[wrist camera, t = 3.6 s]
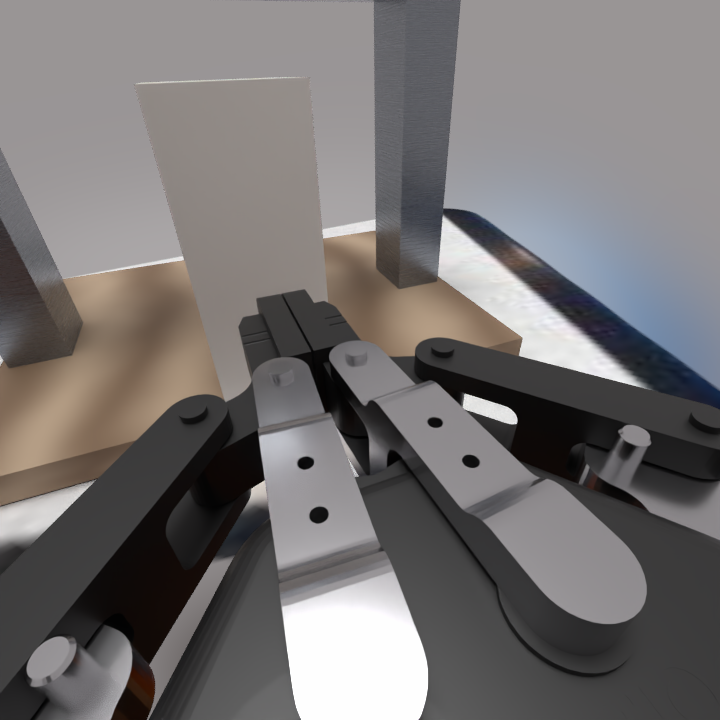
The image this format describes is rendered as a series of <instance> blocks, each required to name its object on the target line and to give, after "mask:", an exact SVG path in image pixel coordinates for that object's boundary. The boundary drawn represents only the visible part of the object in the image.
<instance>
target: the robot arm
mask: <svg viewBox="0 0 720 720" xmlns="http://www.w3.org/2000/svg"><path fill="white" fill-rule="evenodd" d="M256 302H257V308H258V313H259V314H256V315H251V316H246V317H243V318H242V320H241V322H240V324H239V326H238V328H239V332H240V336H241V341H242V345H243V349H244V354H245V358H246V362H247V367H248V370H249V374H250V377H251V383H250V385H249V386H248V388H247V389H246V390H245V391H244V392H242V393H241V394H240V395H238V396H236V397H235V398H233V399H231V400H229V401H227V402H225V401H224V400H223V399H222V398H220V397H218V396H215V395H210V394H201V395H194V396H190V397H187V398H185V399H182V400H180V401H178V402H176V403H175V404H173V405H172V406H171V407H170V408H168V409H167V410H166V411H165V412H164V413H163V414H162V415H161V416H160V417H159V418H158V419H157V420H156V421H155V422H154V423H153V424H152V425H151V426H150V427H149V428H148V429H147V430H146V431H145V432H144V433H143V434H142V435H141V436H140V437H139V438H138V439H137V440H136V441H135V442H134V443H133V444H132V445H131V446H130V447H129V448H128V449H127V450H126V451H125V452H124V453H123V454H122V455H121V456H120V457H119V458H118V459H117V460H116V461H115V462H114V463H113V464H112V465H111V466H110V467H109V468H108V469H107V470H106V471H105V472H104V473H103V474H102V475H101V476H100V477H99V478H98V479H97V480H96V481H95V482H94V483H93V484H92V485H91V486H90V487H89V488H88V489H87V490H86V491H85V492H84V493H83V494H82V495H81V496H80V497H79V498H78V499H77V500H76V501H75V502H74V503H73V504H72V505H71V506H70V507H69V508H68V509H67V510H66V511H65V512H64V513H63V514H62V515H61V516H60V517H59V518H58V519H57V520H56V521H55V522H54V523H53V524H52V525H51V526H50V527H49V528H48V529H47V530H46V531H45V532H44V533H43V534H42V535H41V536H40V537H39V538H38V539H37V540H36V541H35V542H34V543H33V544H32V545H31V546H30V547H29V548H28V549H27V550H26V551H25V552H24V553H23V554H22V555H21V556H20V557H19V558H18V559H17V560H16V561H15V562H14V563H13V564H12V565H11V566H10V567H9V568H8V569H7V570H6V571H5V572H4V573H3V574H2V575H1V576H0V720H147V718H148V715H149V713H150V711H151V708H152V704H153V701H154V695H155V678H154V674H153V671H152V669H151V667H150V666H149V664H150V663H151V661H152V659H153V658H154V656H155V654H156V653H157V651H158V650H159V648H160V646H161V645H162V643H163V641H164V640H165V638H166V636H167V635H168V633H169V631H170V629H171V628H172V626H173V625H174V623H175V621H176V620H177V618H178V616H179V615H180V613H181V612H182V610H183V608H184V607H185V605H186V603H187V602H188V600H189V598H190V597H191V595H192V593H193V592H194V590H195V588H196V587H197V585H198V583H199V582H200V580H201V579H202V577H203V575H204V573H205V572H206V570H207V569H208V567H209V565H210V564H211V562H212V560H213V559H214V557H215V555H216V554H217V552H218V550H219V549H220V547H221V546H222V544H223V542H224V541H225V539H226V537H227V536H228V534H229V532H230V531H231V529H232V527H233V526H234V524H235V522H236V521H237V519H238V517H239V516H240V514H241V512H242V511H243V509H244V508H245V506H246V504H247V503H248V501H249V499H250V495H251V488H253V487H254V486H256V485H257V484H259V483H261V482H262V481H264V480H265V484H266V491H267V498H268V505H269V512H270V518H269V519H268V520H267V521H266V522H264V523H263V524H262V525H261V526H260V527H259V528H257V529H256V530H255V531H254V532H253V533H252V534H251V536H250V537H249V538H248V539H247V540H246V541H245V543H244V544H243V545H242V546H241V548H240V549H239V551H238V552H237V554H236V555H235V557H234V558H233V560H232V562H231V564H230V566H229V567H228V569H227V571H226V573H225V575H224V577H223V579H222V581H221V583H220V585H219V587H218V588H217V590H216V592H215V594H214V596H213V598H212V600H211V602H210V604H209V606H208V608H207V609H206V611H205V613H204V615H203V617H202V619H201V621H200V623H199V625H198V627H197V629H196V630H195V632H194V634H193V636H192V638H191V640H190V642H189V644H188V646H187V648H186V650H185V652H184V653H183V655H182V657H181V659H180V661H179V663H178V665H177V667H176V669H175V671H174V672H173V674H172V676H171V678H170V680H169V682H168V684H167V686H166V688H165V690H164V692H163V694H162V695H161V697H160V699H159V701H158V703H157V705H156V707H155V709H154V711H153V713H152V715H151V716H150V718H149V720H720V410H719V409H717V408H714V407H712V406H709V405H706V404H702V403H698V402H694V401H690V400H687V399H683V398H679V397H675V396H671V395H667V394H663V393H660V392H656V391H652V390H648V389H644V388H640V387H636V386H632V385H629V384H625V383H621V382H617V381H613V380H609V379H605V378H601V377H598V376H594V375H590V374H586V373H582V372H578V371H574V370H571V369H567V368H563V367H559V366H555V365H551V364H547V363H543V362H540V361H536V360H532V359H528V358H524V357H520V356H516V355H512V354H509V353H505V352H501V351H497V350H493V349H489V348H485V347H481V346H478V345H474V344H470V343H466V342H462V341H458V340H454V339H450V338H444V337H435V338H429V339H426V340H423V341H421V342H420V343H419V344H418V345H417V346H416V348H415V356H399V357H392V356H388V355H387V354H386V353H385V352H384V351H383V350H382V349H381V348H380V347H379V346H377V345H375V344H373V343H371V342H367V341H361V339H360V338H359V337H358V335H357V334H356V333H355V331H354V330H353V329H352V328H351V326H350V325H349V324H348V323H347V321H346V320H345V318H344V317H343V316H342V314H341V313H340V312H339V310H338V309H337V308H336V306H334V305H332V304H330V303H328V302H326V301H321V302H316V303H314V302H313V300H312V299H311V297H310V296H309V294H308V293H307V291H306V290H305V289H302V290H297V291H292V292H286V293H282V294H276V295H271V296H266V297H260V298H256ZM465 393H466V394H469V395H472V396H475V397H478V398H482V399H485V400H488V401H491V402H494V403H498V404H501V405H504V406H507V407H509V408H510V409H512V410H513V411H514V412H515V414H516V416H517V418H518V422H517V424H514V425H511V424H507V423H504V422H501V421H498V420H495V419H491V418H488V417H485V416H482V415H479V414H476V413H473V412H470V411H467V410H465V409H464V408H462V407H463V400H464V394H465ZM334 422H335V423H334ZM347 457H348V458H347ZM348 459H349V460H350V462H351V464H352V465H353V467H354V469H355V470H356V472H357V473H358V475H359V477H354V474H353V472H352V469H351V466H350V463H349V461H348Z"/></svg>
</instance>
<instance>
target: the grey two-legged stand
mask: <svg viewBox="0 0 720 720" xmlns="http://www.w3.org/2000/svg"><path fill="white" fill-rule="evenodd" d="M265 1H268V0H265ZM269 1H333V2H374V50H375V51H374V57H375V58H374V62H375V63H374V66H375V184H376V186H375V187H376V190H375V193H376V269H377V270H378V271H379V272H380V273H381V274H382V275H384V276H385V277H386V278H387V279H388V280H389V281H390V282H391V283H392V284H394V285H395V286H396V287H397V288H398V289H403V288H408V287H413V286H418V285H423V284H428V283H433V282H437V276H438V264H439V252H440V240H441V228H442V216H443V204H444V192H445V180H446V167H447V156H448V143H449V132H450V120H451V108H452V96H453V84H454V72H455V61H456V48H457V37H458V36H457V35H458V25H459V13H460V1H461V0H269ZM82 325H83V321H82V319H81V317H80V315H79V313H78V310H77V308H76V306H75V304H74V302H73V300H72V298H71V296H70V294H69V292H68V289H67V287H66V285H65V283H64V281H63V279H62V277H61V275H60V273H59V271H58V269H57V266H56V264H55V262H54V260H53V258H52V256H51V254H50V252H49V250H48V248H47V246H46V243H45V241H44V239H43V237H42V235H41V233H40V231H39V229H38V227H37V224H36V222H35V220H34V218H33V216H32V214H31V212H30V210H29V208H28V206H27V204H26V201H25V199H24V197H23V195H22V193H21V191H20V189H19V187H18V185H17V183H16V180H15V179H14V176H13V174H12V172H11V170H10V168H9V166H8V164H7V162H6V160H5V158H4V155H3V153H2V151H1V149H0V356H1V357H2V359H3V360H4V362H5V363H6V365H7V366H8V368H14V367H19V366H24V365H28V364H33V363H38V362H43V361H48V360H53V359H58V358H63V357H68V356H72V355H73V352H74V349H75V346H76V343H77V340H78V337H79V334H80V331H81V328H82Z"/></svg>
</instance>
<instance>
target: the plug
mask: <svg viewBox="0 0 720 720" xmlns="http://www.w3.org/2000/svg"><path fill="white" fill-rule="evenodd" d="M134 86H135V90H136V93H137V97H138V100H139V103H140V107H141V110H142V113H143V118H144V120H145V124H146V128H147V131H148V134H149V138H150V142H151V145H152V149H153V152H154V156H155V159H156V162H157V166H158V170H159V173H160V177H161V180H162V184H163V187H164V191H165V194H166V198H167V201H168V205H169V208H170V212H171V215H172V219H173V222H174V226H175V229H176V233H177V236H178V240H179V243H180V246H181V249H182V254H183V257H184V261H185V264H186V268H187V271H188V275H189V278H190V281H191V285H192V288H193V292H194V295H195V299H196V302H197V306H198V309H199V313H200V316H201V320H202V323H203V327H204V330H205V334H206V337H207V341H208V344H209V348H210V351H211V355H212V358H213V362H214V365H215V369H216V372H217V376H218V379H219V383H220V386H221V390H222V393H223V397H224V400H225V402H227V401H229V400H231V399H233V398H235V397H236V396H238V395H240V394H241V393H242V392H244V391H245V390H246V389H247V388H248V386H249V385H250V383H251V377H250V374H249V370H248V367H247V362H246V358H245V354H244V349H243V345H242V341H241V336H240V332H239V328H238V326H239V324H240V322H241V320H242V318H243V317H246V316H251V315H256V314H259V313H258V308H257V302H256V298H260V297H266V296H271V295H276V294H282V293H286V292H292V291H297V290H302V289H305V290H306V291H307V293H308V294H309V296H310V297H311V299H312V300H313V302H314V303H316V302H321V301H326V302H328V295H327V283H326V271H325V259H324V247H323V235H322V223H321V211H320V199H319V186H318V174H317V162H316V150H315V139H314V126H313V114H312V101H311V90H310V78H309V77H286V78H254V79H227V80H202V81H201V80H200V81H174V82H150V83H137V84H134Z"/></svg>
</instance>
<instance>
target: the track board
mask: <svg viewBox="0 0 720 720" xmlns="http://www.w3.org/2000/svg"><path fill="white" fill-rule="evenodd" d="M323 247H324V259H325V271H326V283H327V295H328V303H330V304H332V305H334V306H336V308H337V309H338V310H339V312H340V313H341V314H342V316H343V317H344V318H345V320H346V321H347V323H348V324H349V325H350V326H351V328H352V329H353V330H354V331H355V333H356V334H357V335H358V337H359V338H360V339H361V341H367V342H371V343H373V344H375V345H377V346H379V347H380V348H381V349H382V350H383V351H384V352H385V353H386V354H387V355H388V356H392V357H399V356H415V348H416V346H417V345H418V344H419V343H420V342H421V341H423V340H426V339H429V338H435V337H444V338H450V339H454V340H458V341H462V342H466V343H470V344H474V345H478V346H481V347H485V348H489V349H493V350H497V351H501V352H505V353H509V354H512V355H516V356H519V351H520V347H521V343H522V337H521V336H519V335H518V334H516V333H515V332H514V331H512V330H511V329H510V328H508V327H507V326H505V325H504V324H503V323H501V322H500V321H499V320H497V319H496V318H494V317H493V316H492V315H490V314H489V313H488V312H486V311H485V310H483V309H482V308H481V307H479V306H478V305H476V304H475V303H474V302H472V301H471V300H470V299H468V298H467V297H465V296H464V295H463V294H461V293H460V292H459V291H457V290H456V289H454V288H453V287H452V286H450V285H449V284H447V283H446V282H445V281H443V280H442V279H441V278H439V277H438V276H437V282H433V283H428V284H423V285H418V286H413V287H408V288H403V289H398V288H397V287H396V286H395V285H394V284H392V283H391V282H390V281H389V280H388V279H387V278H386V277H385V276H384V275H382V274H381V273H380V272H379V271H378V270H377V269H376V231H370V232H363V233H357V234H351V235H344V236H338V237H331V238H325V239H323ZM63 281H64V283H65V285H66V287H67V289H68V292H69V294H70V296H71V298H72V300H73V302H74V304H75V306H76V308H77V310H78V313H79V315H80V317H81V319H82V321H83V325H82V328H81V331H80V334H79V337H78V340H77V343H76V346H75V349H74V352H73V355H72V356H68V357H63V358H58V359H53V360H48V361H43V362H38V363H33V364H28V365H24V366H19V367H14V368H8V366H7V365H6V363H5V362H4V361H3V362H2V364H1V366H0V506H1V505H5V504H8V503H12V502H16V501H19V500H23V499H26V498H30V497H33V496H37V495H40V494H44V493H47V492H51V491H55V490H58V489H62V488H65V487H69V486H72V485H76V484H79V483H83V482H86V481H90V480H94V479H97V478H99V477H100V476H101V475H102V474H103V473H104V472H105V471H106V470H107V469H108V468H109V467H110V466H111V465H112V464H113V463H114V462H115V461H116V460H117V459H118V458H119V457H120V456H121V455H122V454H123V453H124V452H125V451H126V450H127V449H128V448H129V447H130V446H131V445H132V444H133V443H134V442H135V441H136V440H137V439H138V438H139V437H140V436H141V435H142V434H143V433H144V432H145V431H146V430H147V429H148V428H149V427H150V426H151V425H152V424H153V423H154V422H155V421H156V420H157V419H158V418H159V417H160V416H161V415H162V414H163V413H164V412H165V411H166V410H167V409H168V408H170V407H171V406H172V405H173V404H175V403H176V402H178V401H180V400H182V399H185V398H187V397H190V396H194V395H201V394H210V395H215V396H218V397H220V398H222V399H223V400H224V397H223V393H222V390H221V386H220V383H219V379H218V376H217V372H216V369H215V365H214V362H213V358H212V355H211V351H210V348H209V344H208V341H207V337H206V334H205V330H204V327H203V323H202V320H201V316H200V313H199V309H198V306H197V302H196V299H195V295H194V292H193V288H192V285H191V281H190V278H189V275H188V271H187V268H186V264H185V261H184V260H183V261H177V262H170V263H164V264H158V265H151V266H145V267H138V268H132V269H125V270H119V271H113V272H106V273H100V274H93V275H87V276H80V277H74V278H68V279H63ZM224 401H225V400H224Z"/></svg>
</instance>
